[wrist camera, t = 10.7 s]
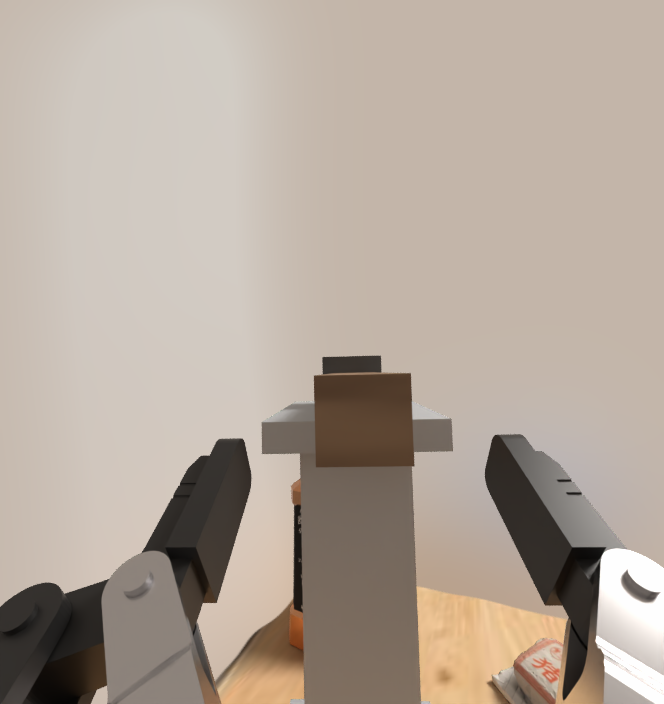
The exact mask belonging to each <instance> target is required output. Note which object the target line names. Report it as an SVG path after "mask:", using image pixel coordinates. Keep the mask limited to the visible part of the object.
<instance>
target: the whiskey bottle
mask: <svg viewBox="0 0 664 704" xmlns="http://www.w3.org/2000/svg"><path fill="white" fill-rule="evenodd" d="M291 499H292V502H293V504H294V597H293V604H292V605H291V607H290V623H289V639H290V644H291V645H293V646H295V647H297V648H299V649H301V650H303V651H304V645H303V588H302V531H301V478H300V479H299V480H298V481H296V482H295V483H293V485H292V486H291Z"/></svg>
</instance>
